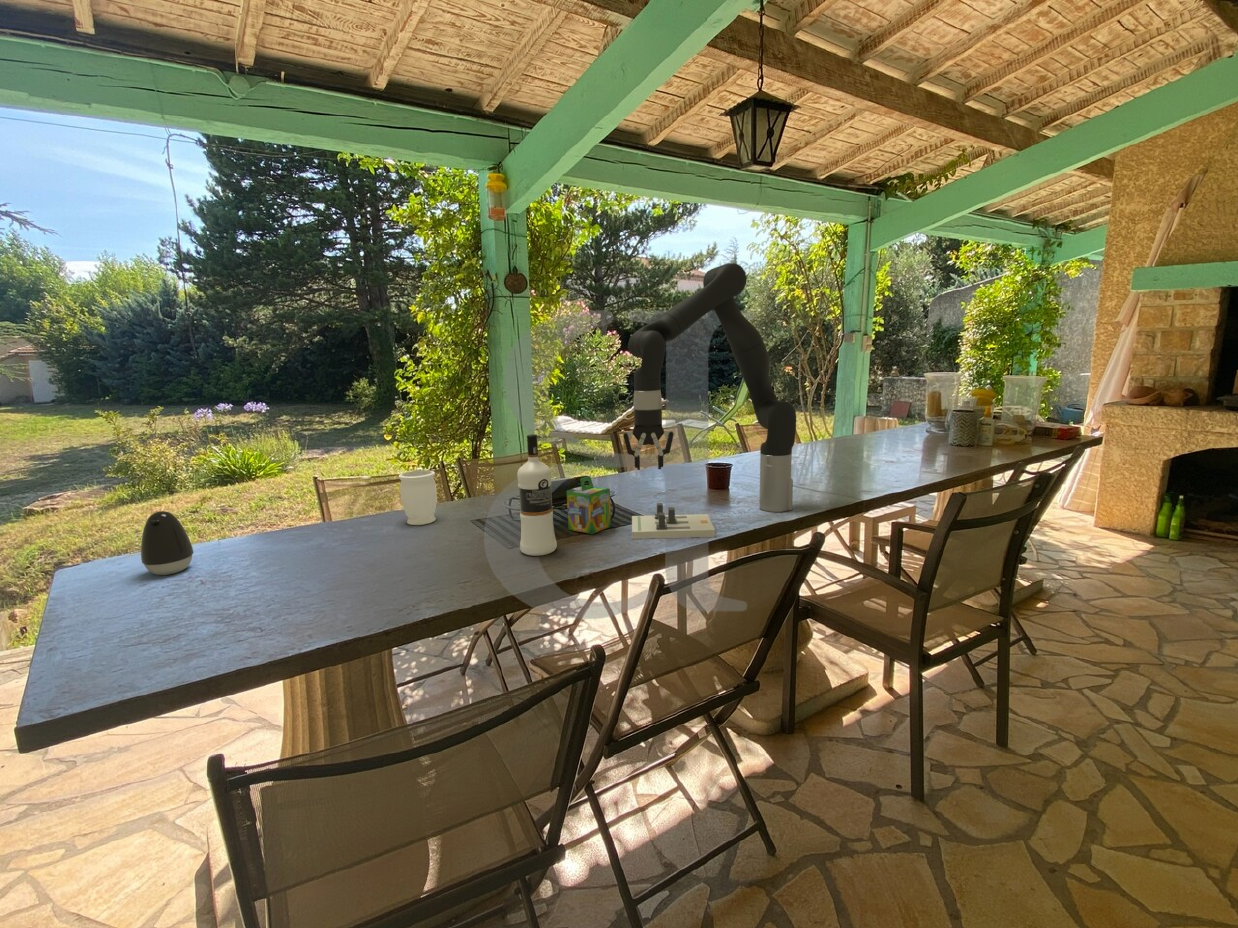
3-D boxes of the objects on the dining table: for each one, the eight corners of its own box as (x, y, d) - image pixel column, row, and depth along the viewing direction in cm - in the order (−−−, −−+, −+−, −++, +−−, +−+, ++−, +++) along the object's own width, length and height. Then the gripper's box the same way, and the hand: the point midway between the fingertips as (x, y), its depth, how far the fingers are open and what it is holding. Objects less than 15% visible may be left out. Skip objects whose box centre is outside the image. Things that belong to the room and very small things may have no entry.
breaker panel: (707, 520, 176) (707, 513, 176) (715, 537, 162) (715, 529, 161) (632, 522, 177) (631, 515, 176) (632, 539, 162) (632, 531, 162)
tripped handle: (676, 519, 170) (676, 506, 170) (677, 522, 167) (677, 510, 166) (666, 519, 170) (666, 507, 170) (666, 523, 167) (666, 510, 166)
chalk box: (592, 535, 166) (589, 482, 163) (567, 530, 172) (564, 479, 169) (612, 526, 174) (611, 476, 171) (588, 522, 179) (586, 472, 176)
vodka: (546, 542, 162) (540, 430, 156) (563, 551, 154) (557, 434, 148) (514, 549, 157) (506, 434, 151) (530, 559, 149) (522, 438, 143)
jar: (432, 526, 179) (428, 476, 176) (398, 527, 180) (392, 477, 177) (443, 516, 190) (439, 469, 187) (410, 517, 190) (406, 470, 187)
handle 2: (666, 525, 165) (666, 512, 165) (667, 528, 162) (667, 515, 162) (656, 525, 166) (656, 512, 165) (656, 528, 162) (656, 515, 162)
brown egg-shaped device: (135, 581, 142) (123, 519, 139) (156, 566, 152) (144, 508, 149) (185, 576, 145) (174, 514, 142) (202, 561, 155) (192, 504, 152)
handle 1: (664, 514, 175) (664, 502, 175) (665, 518, 172) (664, 505, 171) (654, 515, 175) (654, 502, 175) (655, 518, 172) (655, 505, 171)
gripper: (673, 405, 166) (674, 465, 169) (621, 406, 166) (622, 467, 170) (675, 407, 159) (676, 471, 162) (620, 409, 159) (622, 472, 162)
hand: (648, 468), depth 166 cm, fingers open, 5 cm apart
